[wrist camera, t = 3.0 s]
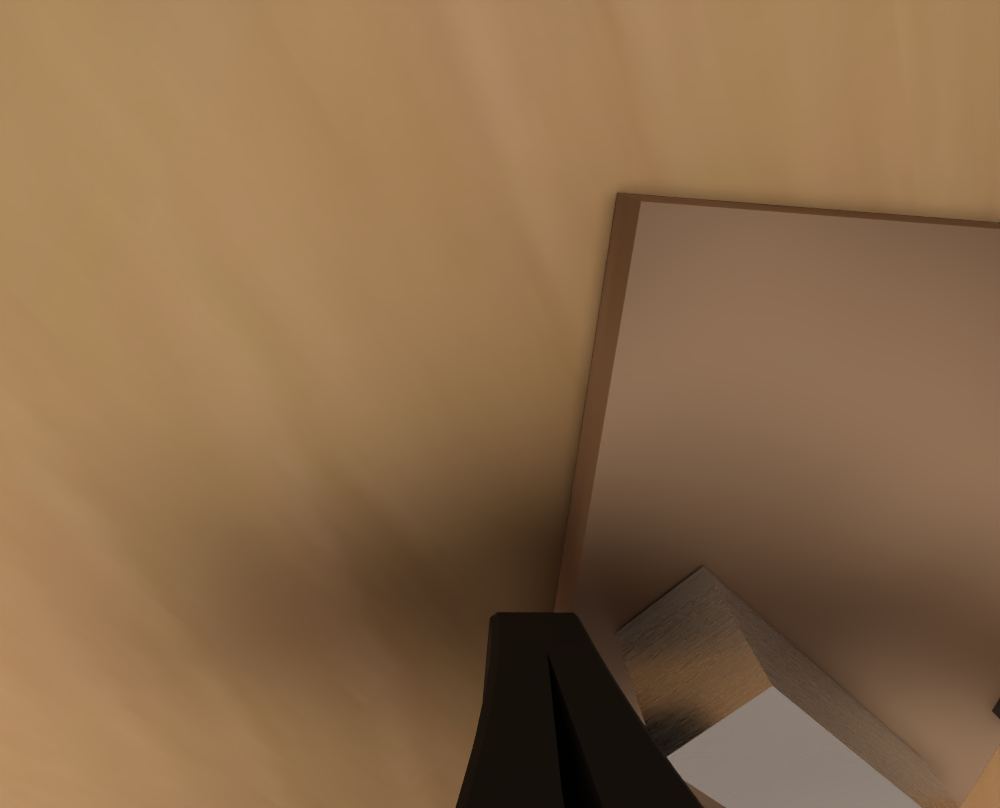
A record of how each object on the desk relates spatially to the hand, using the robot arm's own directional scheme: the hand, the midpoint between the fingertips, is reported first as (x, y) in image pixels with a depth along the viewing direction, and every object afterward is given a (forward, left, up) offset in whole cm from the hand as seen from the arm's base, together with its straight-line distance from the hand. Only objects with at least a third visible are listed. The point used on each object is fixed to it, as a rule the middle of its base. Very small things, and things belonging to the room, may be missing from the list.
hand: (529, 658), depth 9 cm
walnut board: (-1, -6, -2) cm, 6 cm away
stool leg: (-3, -6, -1) cm, 7 cm away
